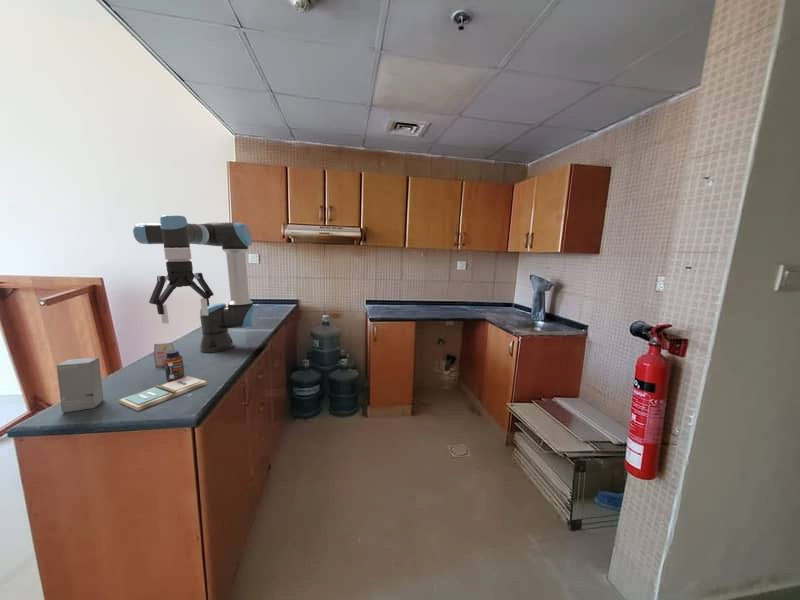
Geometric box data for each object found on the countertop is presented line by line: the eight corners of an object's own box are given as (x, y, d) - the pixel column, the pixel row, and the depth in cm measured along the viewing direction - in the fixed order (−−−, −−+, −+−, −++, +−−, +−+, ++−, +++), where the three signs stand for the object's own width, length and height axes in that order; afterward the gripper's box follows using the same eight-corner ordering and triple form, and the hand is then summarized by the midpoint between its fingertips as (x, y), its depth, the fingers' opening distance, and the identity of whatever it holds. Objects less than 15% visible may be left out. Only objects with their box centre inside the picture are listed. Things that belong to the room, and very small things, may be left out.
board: (188, 378, 123) (187, 374, 123) (206, 384, 118) (206, 379, 117) (119, 402, 104) (118, 398, 103) (137, 410, 98) (137, 405, 98)
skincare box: (61, 413, 97) (52, 366, 94) (74, 403, 103) (65, 359, 101) (96, 408, 100) (88, 362, 98) (106, 398, 107) (99, 355, 104)
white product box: (159, 363, 140) (156, 342, 138) (176, 362, 142) (173, 341, 140) (155, 366, 136) (152, 345, 135) (173, 365, 138) (170, 343, 137)
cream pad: (187, 377, 121) (187, 376, 121) (201, 381, 117) (201, 380, 117) (161, 386, 113) (161, 385, 113) (175, 391, 109) (175, 389, 109)
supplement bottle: (175, 382, 120) (171, 354, 118) (162, 380, 121) (158, 353, 119) (188, 375, 126) (185, 349, 124) (176, 374, 127) (172, 348, 125)
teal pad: (155, 388, 112) (155, 387, 111) (169, 393, 108) (169, 392, 107) (125, 399, 104) (124, 397, 104) (138, 405, 100) (138, 403, 100)
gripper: (208, 259, 121) (214, 311, 124) (130, 262, 99) (140, 325, 102) (219, 259, 117) (225, 313, 121) (142, 262, 95) (152, 328, 99)
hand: (186, 319), depth 112 cm, fingers open, 13 cm apart
